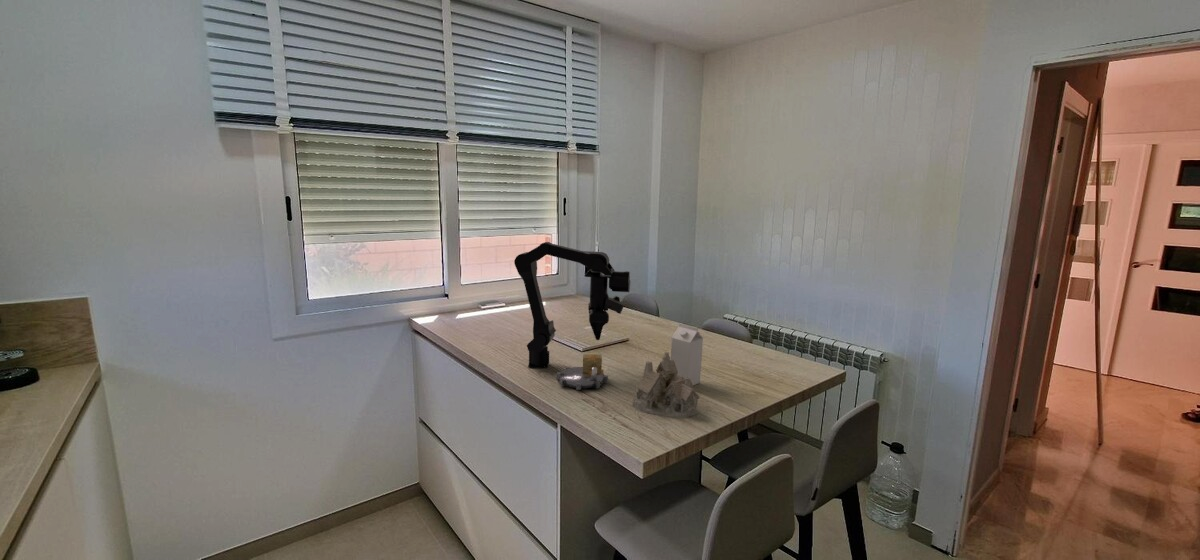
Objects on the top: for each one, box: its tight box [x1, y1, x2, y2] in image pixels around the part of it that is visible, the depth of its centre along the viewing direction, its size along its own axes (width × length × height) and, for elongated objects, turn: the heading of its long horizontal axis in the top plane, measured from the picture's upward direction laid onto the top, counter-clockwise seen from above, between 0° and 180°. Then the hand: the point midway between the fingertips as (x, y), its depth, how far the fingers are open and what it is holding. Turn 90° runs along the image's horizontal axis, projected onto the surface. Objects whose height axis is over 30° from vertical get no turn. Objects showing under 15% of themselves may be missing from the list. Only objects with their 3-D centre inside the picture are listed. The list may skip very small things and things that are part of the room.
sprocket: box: [555, 366, 609, 391], centre depth 151 cm, size 16×16×6 cm
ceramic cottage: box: [632, 351, 700, 419], centre depth 133 cm, size 16×16×15 cm
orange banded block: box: [582, 353, 603, 373], centre depth 154 cm, size 6×4×5 cm, turn 92°
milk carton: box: [670, 322, 704, 387], centre depth 152 cm, size 7×7×19 cm
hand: (597, 336), depth 160 cm, fingers open, 9 cm apart
